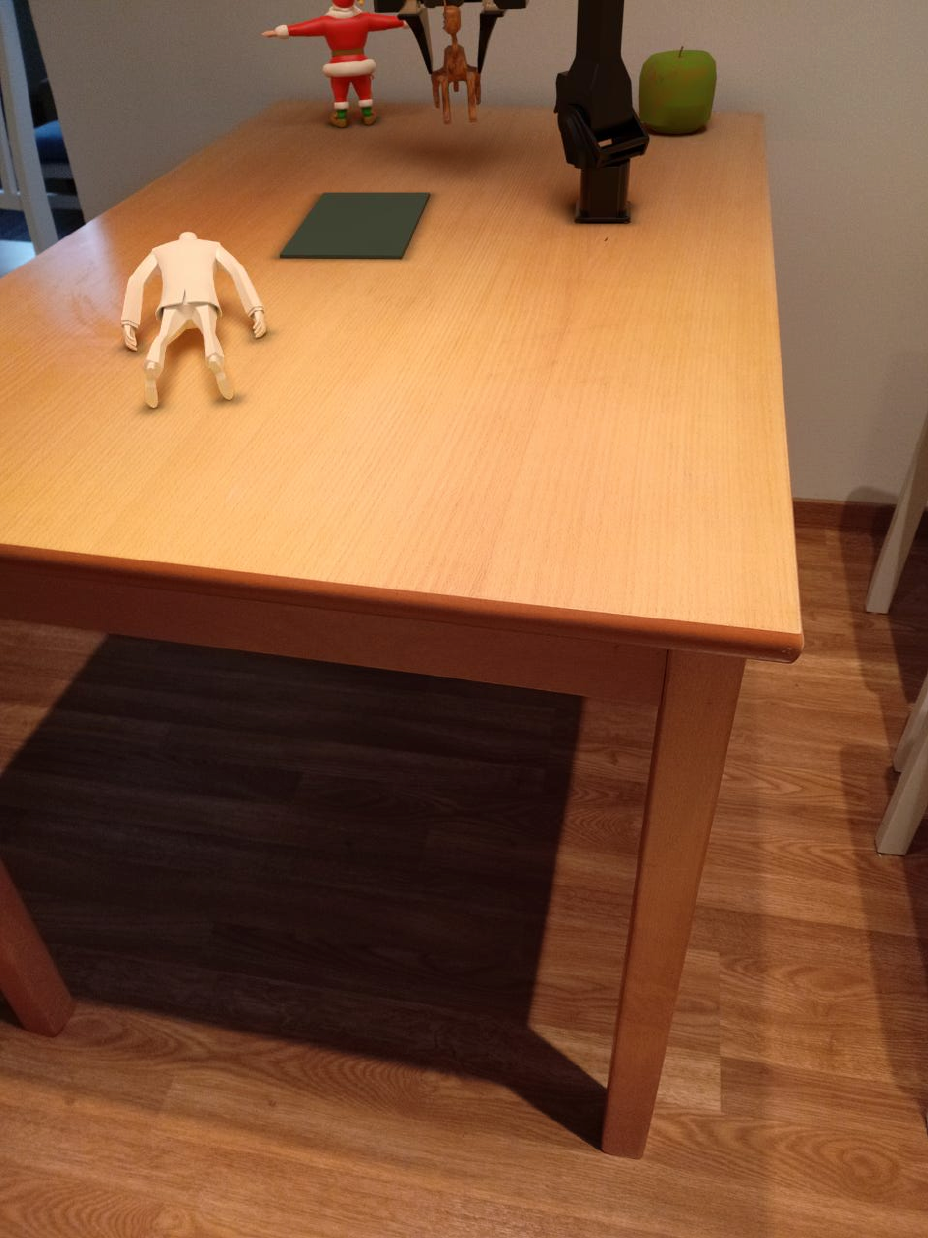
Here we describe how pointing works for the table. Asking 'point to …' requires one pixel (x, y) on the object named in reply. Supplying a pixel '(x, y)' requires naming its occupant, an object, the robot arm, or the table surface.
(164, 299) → the male figurine
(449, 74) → the cat figurine
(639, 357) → the table surface
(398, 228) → the mat
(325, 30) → the santa figurine
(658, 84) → the apple
